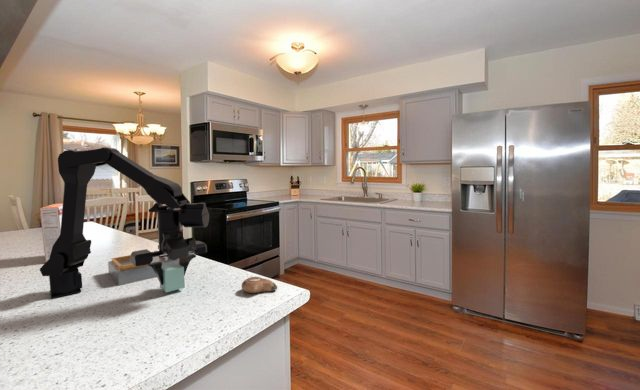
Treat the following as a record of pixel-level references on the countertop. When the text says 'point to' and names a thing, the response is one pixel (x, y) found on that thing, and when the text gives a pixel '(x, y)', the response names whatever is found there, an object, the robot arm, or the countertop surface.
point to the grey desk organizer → (133, 269)
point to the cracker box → (50, 226)
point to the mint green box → (172, 277)
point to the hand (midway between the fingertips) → (172, 282)
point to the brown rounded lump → (258, 285)
